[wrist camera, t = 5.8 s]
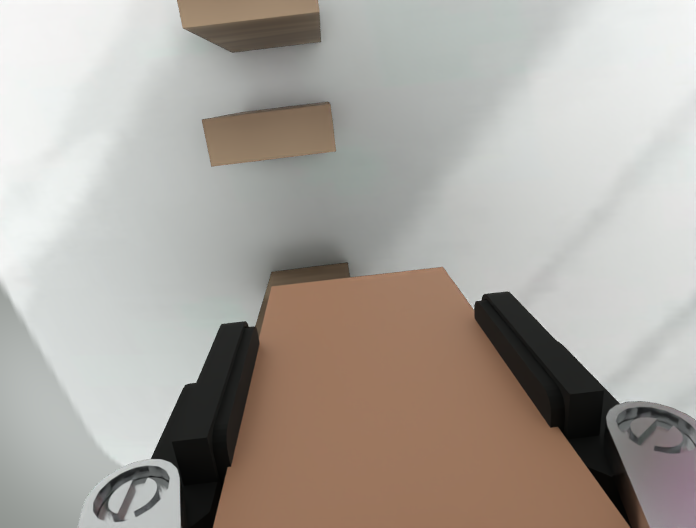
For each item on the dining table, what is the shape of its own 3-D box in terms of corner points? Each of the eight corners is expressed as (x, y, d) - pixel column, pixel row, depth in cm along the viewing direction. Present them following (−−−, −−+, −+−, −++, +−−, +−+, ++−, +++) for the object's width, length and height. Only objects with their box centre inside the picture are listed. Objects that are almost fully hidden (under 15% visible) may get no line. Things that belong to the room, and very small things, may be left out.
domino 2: (332, 133, 29) (335, 151, 19) (248, 143, 29) (211, 166, 19) (328, 101, 28) (330, 104, 19) (242, 112, 28) (201, 119, 19)
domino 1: (321, 41, 27) (319, 11, 18) (232, 52, 27) (183, 28, 17) (316, 6, 26) (312, -46, 17) (225, 17, 26) (171, -28, 17)
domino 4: (444, 322, 15) (674, 738, 5) (280, 341, 14) (210, 802, 5) (442, 267, 14) (699, 624, 5) (271, 286, 14) (172, 694, 4)
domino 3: (350, 287, 32) (362, 367, 22) (276, 297, 32) (255, 381, 22) (347, 262, 31) (358, 333, 22) (271, 271, 31) (248, 347, 22)
